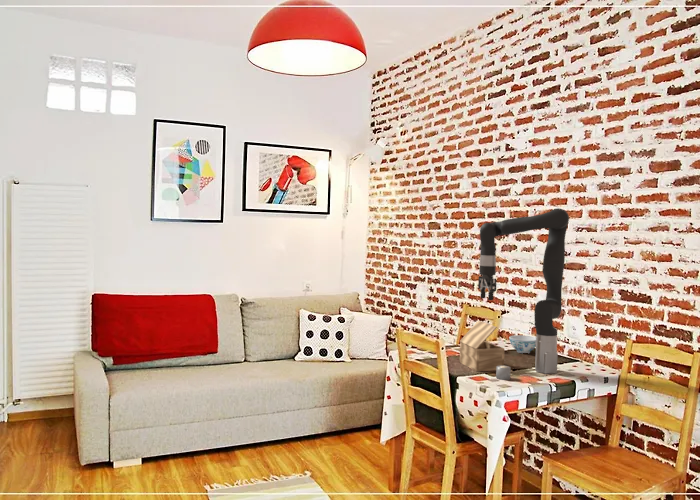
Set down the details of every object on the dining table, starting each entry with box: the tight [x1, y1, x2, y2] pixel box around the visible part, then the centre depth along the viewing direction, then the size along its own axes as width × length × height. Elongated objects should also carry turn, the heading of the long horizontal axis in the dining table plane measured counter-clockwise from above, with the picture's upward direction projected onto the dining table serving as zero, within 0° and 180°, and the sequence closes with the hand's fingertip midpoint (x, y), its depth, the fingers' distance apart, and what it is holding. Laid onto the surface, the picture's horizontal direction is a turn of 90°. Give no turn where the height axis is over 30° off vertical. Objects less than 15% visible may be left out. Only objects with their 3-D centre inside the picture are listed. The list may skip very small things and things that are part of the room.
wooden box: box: [459, 340, 505, 372], centre depth 288 cm, size 18×14×10 cm
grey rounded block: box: [495, 365, 512, 381], centre depth 266 cm, size 6×6×5 cm
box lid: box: [459, 319, 498, 349], centre depth 287 cm, size 18×14×1 cm
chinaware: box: [509, 334, 536, 354], centre depth 321 cm, size 15×15×8 cm
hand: (486, 299), depth 287 cm, fingers open, 7 cm apart
